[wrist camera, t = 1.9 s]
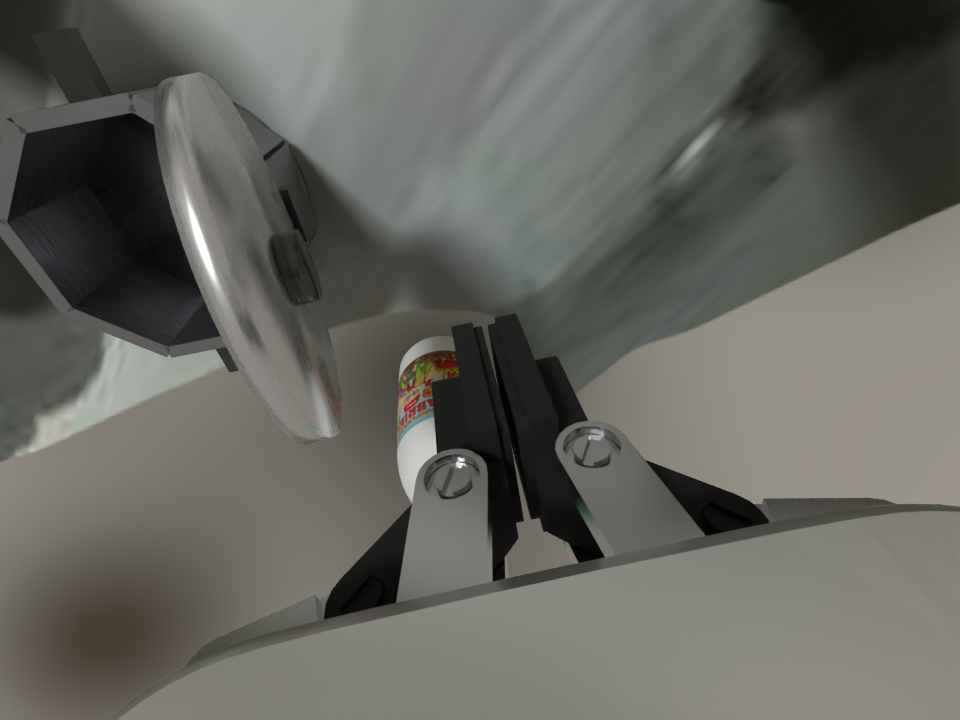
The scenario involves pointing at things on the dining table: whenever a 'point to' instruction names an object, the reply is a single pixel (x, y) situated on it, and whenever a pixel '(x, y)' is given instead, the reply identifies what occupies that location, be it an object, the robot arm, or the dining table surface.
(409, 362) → the milk bottle
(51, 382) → the dining table surface
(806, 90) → the dining table surface
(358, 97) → the dining table surface
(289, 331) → the lid
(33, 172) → the pot
